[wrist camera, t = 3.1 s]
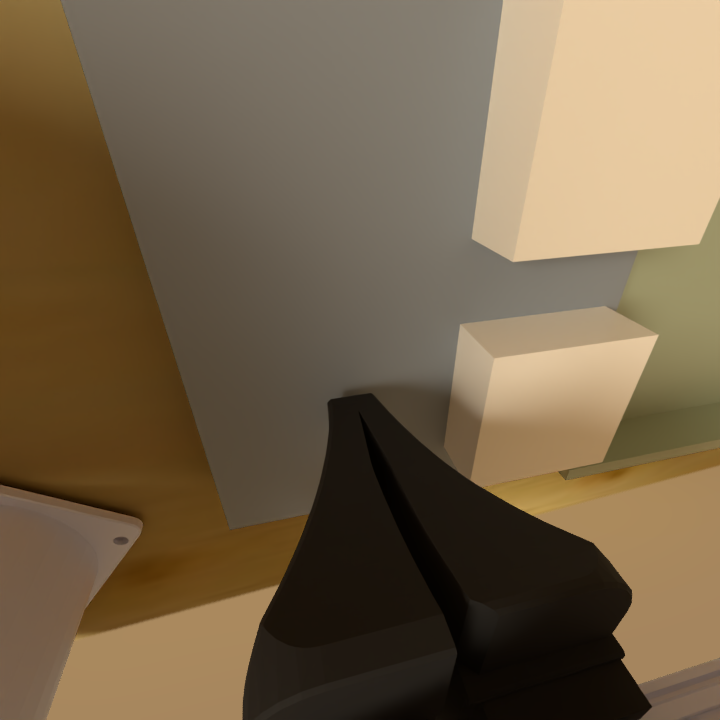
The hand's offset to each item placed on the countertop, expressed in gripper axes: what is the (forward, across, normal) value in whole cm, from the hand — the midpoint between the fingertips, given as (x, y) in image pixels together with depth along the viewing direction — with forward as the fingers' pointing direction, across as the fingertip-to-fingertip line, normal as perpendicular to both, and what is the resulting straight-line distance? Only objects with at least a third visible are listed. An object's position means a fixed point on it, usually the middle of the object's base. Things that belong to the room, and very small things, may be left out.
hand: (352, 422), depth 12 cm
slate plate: (+3, -2, -4) cm, 5 cm away
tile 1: (+1, -6, -8) cm, 10 cm away
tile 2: (+1, -6, 0) cm, 6 cm away
